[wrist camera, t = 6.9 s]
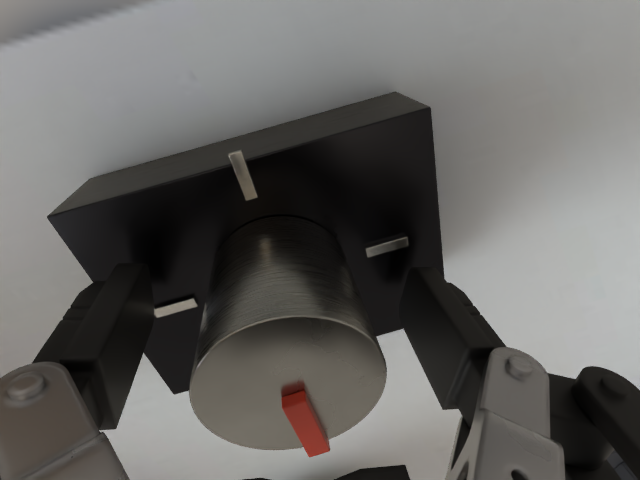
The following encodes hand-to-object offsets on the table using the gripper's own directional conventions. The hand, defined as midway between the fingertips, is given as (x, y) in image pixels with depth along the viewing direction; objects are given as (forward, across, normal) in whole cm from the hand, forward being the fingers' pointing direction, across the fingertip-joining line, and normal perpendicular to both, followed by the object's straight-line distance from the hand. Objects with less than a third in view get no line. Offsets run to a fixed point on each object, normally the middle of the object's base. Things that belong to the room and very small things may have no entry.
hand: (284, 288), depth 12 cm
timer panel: (+4, 0, 0) cm, 4 cm away
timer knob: (+1, 0, 0) cm, 1 cm away
